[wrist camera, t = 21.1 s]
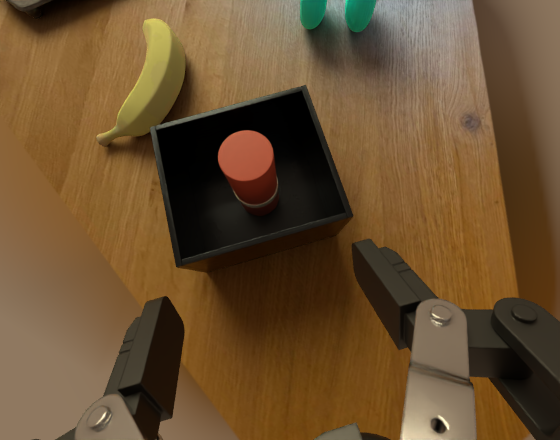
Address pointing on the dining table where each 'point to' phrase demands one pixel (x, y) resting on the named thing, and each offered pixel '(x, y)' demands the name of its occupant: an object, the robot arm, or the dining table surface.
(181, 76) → the banana
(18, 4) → the serving tray
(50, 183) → the dining table surface
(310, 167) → the bin
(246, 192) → the striped red cylinder
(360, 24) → the green wheel pair
